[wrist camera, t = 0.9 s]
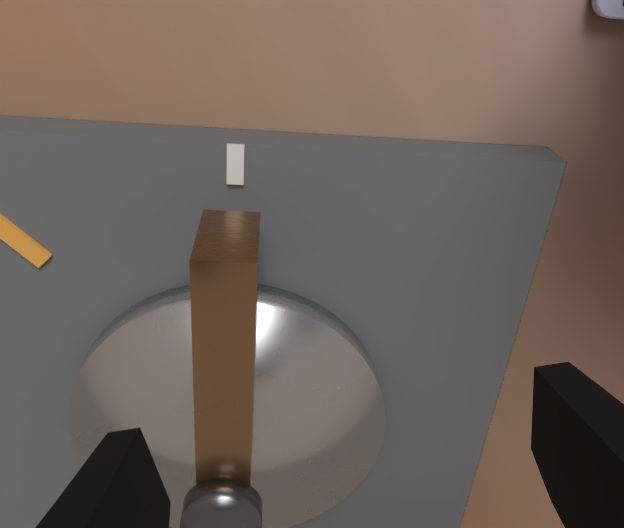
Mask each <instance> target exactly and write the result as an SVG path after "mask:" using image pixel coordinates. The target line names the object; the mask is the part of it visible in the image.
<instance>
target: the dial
mask: <svg viewBox="0 0 624 528" xmlns="http://www.w3.org/2000/svg"><path fill="white" fill-rule="evenodd" d="M260 216H261V212H248V211H227V210H205V209H203V213H202V216H201V220H200V224H199V227H198V231H197V235H196V238H195V242H194V245H193V249H192V253H191V256H190V260H189V264H190V284H189V285H185V286H181V287H177V288H173V289H169V290H166V291H163V292H161V293H158V294H156V295H153V296H151V297H148V298H146V299H145V300H143V301H141V302H139V303H137V304H135V305H133V306H132V307H130V308H129V309H127V310H126V311H125V312H123V313H122V314H121V315H119V316H118V317H116V318H115V319H114V320H113V321H112V322H111V323H110V324H109V325H108V326H107V327H106V328H105V329H104V330H103V331H102V332H101V334H100V335H99V336H98V338H97V339H96V340H95V342H94V343H93V345H92V346H91V348H90V350H89V352H88V354H87V356H86V358H85V360H84V362H83V364H82V367H81V369H80V371H79V373H78V375H77V377H76V380H75V382H74V384H73V388H72V391H71V394H70V398H69V405H68V414H67V416H68V429H69V434H70V438H71V442H72V446H73V448H74V450H75V452H76V455H77V457H78V459H79V461H80V463H81V464H82V466H83V464H84V463H85V462H86V460H87V459H88V458H89V456H90V455H91V454H92V452H93V451H94V450H95V448H96V447H97V446H98V445H99V443H100V442H101V441H102V439H103V438H104V437H105V435H106V434H107V433H108V432H114V431H121V430H127V429H134V428H141V431H142V433H143V436H144V438H145V440H146V443H147V445H148V448H149V450H150V453H151V455H152V458H153V460H154V463H155V465H156V467H157V470H158V472H159V475H160V477H161V480H162V482H163V485H164V487H165V489H166V492H167V494H168V497H169V499H170V502H171V505H170V519H169V527H171V528H287V527H291V526H294V525H297V524H300V523H302V522H305V521H307V520H309V519H312V518H314V517H316V516H318V515H320V514H322V513H324V512H325V511H327V510H329V509H331V508H332V507H334V506H335V505H337V504H338V503H339V502H341V501H342V500H344V499H345V498H346V497H347V496H348V495H349V494H350V493H352V492H353V491H354V490H355V489H356V488H357V487H358V486H359V485H360V483H361V482H362V481H363V480H364V479H365V478H366V476H367V475H368V473H369V472H370V470H371V469H372V467H373V466H374V464H375V462H376V460H377V457H378V455H379V453H380V451H381V447H382V444H383V440H384V436H385V426H386V415H385V404H384V400H383V396H382V391H381V387H380V383H379V379H378V375H377V371H376V368H375V365H374V363H373V361H372V359H371V357H370V354H369V352H368V351H367V349H366V348H365V346H364V345H363V343H362V342H361V340H360V339H359V338H358V337H357V335H356V334H355V333H354V332H353V331H352V330H351V329H350V328H349V327H348V325H346V324H345V323H344V322H343V321H342V320H340V319H339V318H338V317H337V316H336V315H334V314H333V313H332V312H330V311H328V310H327V309H325V308H324V307H322V306H321V305H319V304H317V303H316V302H313V301H311V300H309V299H307V298H305V297H303V296H301V295H299V294H296V293H293V292H290V291H287V290H284V289H281V288H278V287H273V286H268V285H263V284H259V283H258V273H259V244H260Z"/></svg>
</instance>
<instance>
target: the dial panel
mask: <svg viewBox="0 0 624 528" xmlns="http://www.w3.org/2000/svg"><path fill="white" fill-rule="evenodd" d="M566 164H567V162H566V161H565V160H563V159H562V158H561V157H559V156H558V155H557V154H555V153H554V152H553V151H552V150H550V149H549V148H548V147H537V146H520V145H502V144H485V143H468V142H451V141H433V140H416V139H399V138H381V137H364V136H347V135H329V134H312V133H295V132H277V131H260V130H243V129H226V128H208V127H191V126H174V125H156V124H139V123H122V122H104V121H87V120H70V119H52V118H35V117H18V116H1V115H0V528H35V527H36V526H37V525H38V524H39V522H40V521H41V520H42V518H43V517H44V516H45V515H46V513H47V512H48V511H49V509H50V508H51V507H52V506H53V504H54V503H55V502H56V500H57V499H58V498H59V496H60V495H61V494H62V492H63V491H64V490H65V488H66V487H67V486H68V484H69V483H70V482H71V480H72V479H73V478H74V476H75V475H76V474H77V472H78V471H79V470H80V468H81V467H82V464H81V463H80V461H79V459H78V457H77V455H76V452H75V450H74V448H73V446H72V442H71V438H70V434H69V429H68V416H67V414H68V405H69V398H70V394H71V391H72V388H73V384H74V382H75V380H76V377H77V375H78V373H79V371H80V369H81V367H82V364H83V362H84V360H85V358H86V356H87V354H88V352H89V350H90V348H91V346H92V345H93V343H94V342H95V340H96V339H97V338H98V336H99V335H100V334H101V332H102V331H103V330H104V329H105V328H106V327H107V326H108V325H109V324H110V323H111V322H112V321H113V320H114V319H115V318H116V317H118V316H119V315H121V314H122V313H123V312H125V311H126V310H127V309H129V308H130V307H132V306H133V305H135V304H137V303H139V302H141V301H143V300H145V299H146V298H148V297H151V296H153V295H156V294H158V293H161V292H163V291H166V290H169V289H173V288H177V287H181V286H185V285H189V284H190V264H189V260H190V256H191V253H192V249H193V245H194V242H195V238H196V235H197V231H198V227H199V224H200V220H201V216H202V213H203V209H205V210H227V211H248V212H261V216H260V244H259V273H258V283H259V284H263V285H268V286H273V287H278V288H281V289H284V290H287V291H290V292H293V293H296V294H299V295H301V296H303V297H305V298H307V299H309V300H311V301H313V302H316V303H317V304H319V305H321V306H322V307H324V308H325V309H327V310H328V311H330V312H332V313H333V314H334V315H336V316H337V317H338V318H339V319H340V320H342V321H343V322H344V323H345V324H346V325H348V327H349V328H350V329H351V330H352V331H353V332H354V333H355V334H356V335H357V337H358V338H359V339H360V340H361V342H362V343H363V345H364V346H365V348H366V349H367V351H368V352H369V354H370V357H371V359H372V361H373V363H374V365H375V368H376V371H377V375H378V379H379V383H380V387H381V391H382V396H383V400H384V404H385V415H386V426H385V436H384V440H383V444H382V447H381V451H380V453H379V455H378V457H377V460H376V462H375V464H374V466H373V467H372V469H371V470H370V472H369V473H368V475H367V476H366V478H365V479H364V480H363V481H362V482H361V483H360V485H359V486H358V487H357V488H356V489H355V490H354V491H353V492H352V493H350V494H349V495H348V496H347V497H346V498H345V499H344V500H342V501H341V502H339V503H338V504H337V505H335V506H334V507H332V508H331V509H329V510H327V511H325V512H324V513H322V514H320V515H318V516H316V517H314V518H312V519H309V520H307V521H305V522H302V523H300V524H297V525H294V526H291V527H287V528H460V524H461V521H462V518H463V514H464V511H465V507H466V504H467V501H468V497H469V494H470V490H471V487H472V484H473V480H474V477H475V473H476V470H477V467H478V463H479V460H480V456H481V453H482V450H483V446H484V443H485V439H486V436H487V433H488V429H489V426H490V422H491V419H492V416H493V412H494V409H495V405H496V402H497V399H498V395H499V392H500V388H501V385H502V382H503V378H504V375H505V371H506V368H507V365H508V361H509V358H510V354H511V351H512V348H513V344H514V341H515V337H516V334H517V330H518V327H519V324H520V320H521V317H522V313H523V310H524V307H525V303H526V300H527V296H528V293H529V290H530V286H531V283H532V279H533V276H534V273H535V269H536V266H537V262H538V259H539V256H540V252H541V249H542V245H543V242H544V239H545V235H546V232H547V228H548V225H549V222H550V218H551V215H552V211H553V208H554V205H555V201H556V198H557V194H558V191H559V188H560V184H561V181H562V177H563V174H564V171H565V167H566ZM169 528H171V527H169Z"/></svg>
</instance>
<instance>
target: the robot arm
mask: <svg viewBox="0 0 624 528" xmlns="http://www.w3.org/2000/svg"><path fill="white" fill-rule="evenodd" d="M592 7H593V11H594V12H595V13H596V14H597V15H599V16H602V17H605V18H611V19H624V7H623V0H592ZM531 450H532V452H533V455H534V458H535V460H536V463H537V466H538V468H539V471H540V474H541V476H542V479H543V481H544V484H545V486H546V489H547V491H548V494H549V496H550V499H551V501H552V503H553V505H554V507H555V509H556V511H557V513H558V515H559V517H560V519H561V521H562V523H563V525H564V527H565V528H624V404H623V403H621V402H620V401H619V400H617V399H616V398H615V397H613V396H612V395H611V394H610V393H608V392H607V391H606V390H604V389H603V388H602V387H601V386H599V385H598V384H597V383H595V382H594V381H593V380H592V379H590V378H589V377H588V376H586V375H585V374H584V373H582V372H581V371H580V370H579V369H577V368H576V367H575V366H573V365H572V364H571V363H569V362H565V363H558V364H552V365H545V366H539V367H534V388H533V413H532V439H531ZM170 505H171V502H170V499H169V497H168V494H167V492H166V489H165V487H164V485H163V482H162V480H161V477H160V475H159V472H158V470H157V467H156V465H155V463H154V460H153V458H152V455H151V453H150V450H149V448H148V445H147V443H146V440H145V438H144V436H143V433H142V431H141V428H134V429H127V430H121V431H114V432H108V433H107V434H106V435H105V437H104V438H103V439H102V441H101V442H100V443H99V445H98V446H97V447H96V448H95V450H94V451H93V452H92V454H91V455H90V456H89V458H88V459H87V460H86V462H85V463H84V464H83V466H82V467H81V468H80V470H79V471H78V472H77V474H76V475H75V476H74V478H73V479H72V480H71V482H70V483H69V484H68V486H67V487H66V488H65V490H64V491H63V492H62V494H61V495H60V496H59V498H58V499H57V500H56V502H55V503H54V504H53V506H52V507H51V508H50V509H49V511H48V512H47V513H46V515H45V516H44V517H43V518H42V520H41V521H40V522H39V524H38V525H37V526H36V527H35V528H169V519H170Z"/></svg>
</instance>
